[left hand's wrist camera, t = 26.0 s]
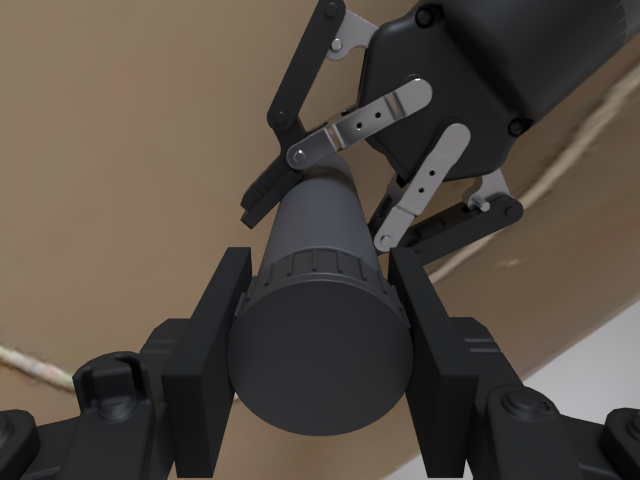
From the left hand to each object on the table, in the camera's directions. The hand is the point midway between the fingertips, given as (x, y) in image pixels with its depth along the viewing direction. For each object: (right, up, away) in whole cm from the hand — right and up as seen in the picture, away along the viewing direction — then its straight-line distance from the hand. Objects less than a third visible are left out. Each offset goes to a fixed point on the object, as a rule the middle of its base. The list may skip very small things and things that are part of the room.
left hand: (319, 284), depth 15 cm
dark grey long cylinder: (0, +5, +13) cm, 14 cm away
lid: (0, -1, -4) cm, 4 cm away
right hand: (-2, +1, +8) cm, 8 cm away
